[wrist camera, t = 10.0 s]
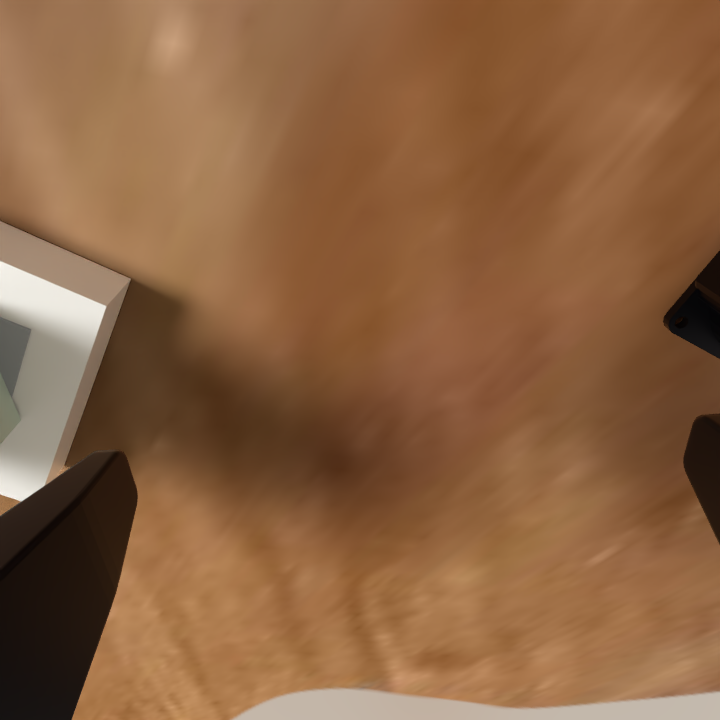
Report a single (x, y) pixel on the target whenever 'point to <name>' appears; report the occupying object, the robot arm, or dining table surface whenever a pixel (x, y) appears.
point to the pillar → (7, 412)
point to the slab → (49, 350)
